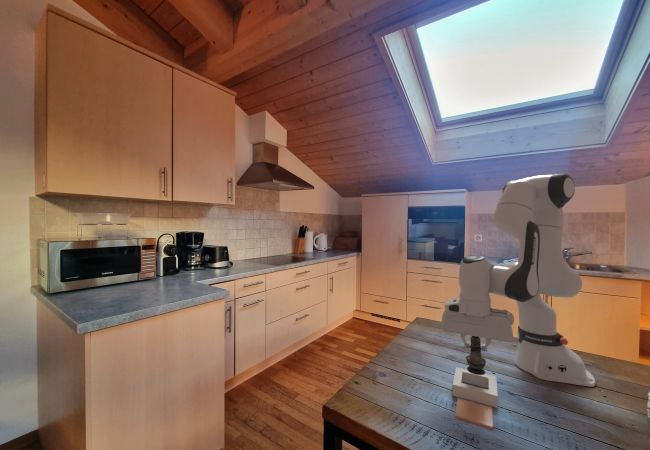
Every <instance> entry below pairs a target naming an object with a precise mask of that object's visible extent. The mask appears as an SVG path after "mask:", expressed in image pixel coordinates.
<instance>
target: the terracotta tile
mask: <svg viewBox="0 0 650 450" xmlns="http://www.w3.org/2000/svg"><path fill="white" fill-rule="evenodd" d="M455 407H456V410H455V415H454V418H456V419H458V420H461V421H466V422H468V423H471V424H475V425H477V426H480V427H484V428H487V429H490V430H494V421H493V420H494V419H493V407H492V406H489V405H485V404H482V403H478V402H474V401H471V400H467V399H464V398H460V397H457V401H456V406H455Z"/></svg>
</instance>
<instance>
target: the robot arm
mask: <svg viewBox="0 0 650 450" xmlns="http://www.w3.org/2000/svg"><path fill="white" fill-rule="evenodd" d="M575 191H576V185H575V181H574V179H573V178H572V177H571V176H570V175H569V174H566V173H554V174H544V175H543V174H541V175H534V176H530V177H525V178H521V179H513V180H510V181H508V182H507V183H505V184H504V186H503V187H502V191H501V195H500V198H499V199H498V202H497V205H496V207H495V211H494V213H493V223H494V224H495V226H496V228H497V229H498V230H499V231H500V232H502V233H503V234H505V235H508V236H510V237H513V238H515V239H517V240H518V241H519V249H518V259H517V261H511V262H508V261H507V262H506V263H504V264H503V265H499V264H494V263H492V262H490V261H488V258H487V257H486V256H482V255H468V256H465V257H464V258H462V259H461V261H460V264H459V269H458V270H459V272H458V274H459V275H458V284H459V288H460V292H459V297H458V298H454V299H453V298H452V299H449V300H447V301H446V302H445V303H444V308H445V309H444V310H443V313H442V316H441V326H440V327H441V329H442V331H443V332H447V333H453V334H457V335H458V334H459V335H460V338H461V341H462V342H463V345H464V349H470V347H469V346H471V341H469V340H467V339H466V336H469V337H472V336H476V337H479V338H484V339H485V343H481V348H482V350H481V352H485V353H488V347H489V345H491V343H492V340H494V341H501V342H506V343H511V342H512V341H513V340H514V333H513V332H514V331H513V327H512V326H513V325H514V324H515V318H514V317H515V316H514V315H513V313H512V312H510V311H508V309H507V310H506V309H499V308H492V305H491V300H492V299H491V295H490V294H492V295H496V296H500V297H504V298H508V299H510V300H514V301H515V302H516V305H517V308H518V321H519V322H518V323H519V324H518V326H517V342H518V345H517V351H516V355H515V358H514V364H515V365H516V366H517V367H518V368H519V369H521V370H523V371H525V372H527V373H529V374H531V375H533V376H534V377H536V378H537V379H540V380H544V381H549V382H555V383H556V382H558V383H561V384H563V383H564V384H571V385H578V386H583V387H590V388H592V387H595V386H596V379H595V377H594V375H593V374H592V373H591V372H590V371H589V370H587V369H586V365H585V363H584V361H583V360H582V358H581V357H580V356H579V354H577V353H576V352H574V351H573V350H572V349H570V348H569V347H568V346H567V345H568V344H569V341H568V340H567V338H566V337H564V336H563V335H562V334H561V333H560V332H558V331H557V312H556V311H555V309H554V308H553V306H551V305H549V304H548V303H546V301H544V299H543V297H542V295H543V296H549V297H554V298H574V297H575V296H577V295H578V294H579V293H580V292H581V290H582V288H583V281H582V278H581V276H580V274H579V273H578V272H577V271H576V270H574V269H573V268H572V267H571V266H570V265H569V264H568V262H567V261H566V259H565V257H564V254H563V252H562V251H563V249H562V242H563V241H562V239H563V230H564V210H563V207H565V205H566V204H567V203H569V202H570V201H571V200H572V198H573V197H574V194H575Z"/></svg>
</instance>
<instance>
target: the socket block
mask: <svg viewBox="0 0 650 450" xmlns="http://www.w3.org/2000/svg"><path fill="white" fill-rule="evenodd" d="M453 375H454V376H453V382H452V396H454V397H457V398H461V399H464V400H468V401H471V402H475V403H478V404H482V405H486V406H489V407H492V408H495V409H496V408H497V409H498V408H499V400H498V399H499V398H498V397H499V395H498V394H499V393H498V385H497V375H496V376H495V375H492V374H489V373H488V374H487V373H485V374H484V375H476V374H473V373H470V372H469V371H468V370H467V368H466V369H465V368H462V367H457V366H456V367H455V371H454V374H453Z"/></svg>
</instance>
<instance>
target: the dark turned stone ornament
mask: <svg viewBox="0 0 650 450" xmlns="http://www.w3.org/2000/svg"><path fill="white" fill-rule="evenodd" d="M469 347H470V348H469V349H470V354H469V355H466V356H465V360H466V363H467V365H468V366H467V367H466V370H468V371H469V372H470V373H473V374H476V375H484V374H487V373H486V370H485V369H484V368H485V366H486V363H487V360H486V359H485V358H484V357H482V343H481V337H476V336H470V346H469Z"/></svg>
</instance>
